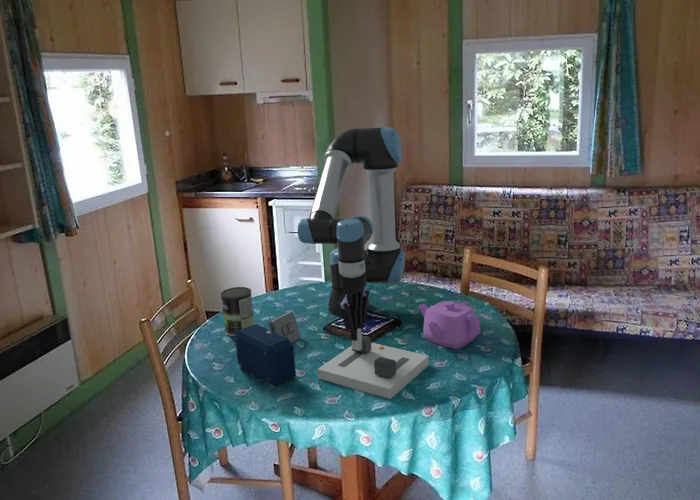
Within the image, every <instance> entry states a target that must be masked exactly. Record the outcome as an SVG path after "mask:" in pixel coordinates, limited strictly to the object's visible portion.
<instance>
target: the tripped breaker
mask: <svg viewBox="0 0 700 500" xmlns="http://www.w3.org/2000/svg"><path fill="white" fill-rule="evenodd" d="M350 340H351V339H350ZM351 342H352V340H351ZM371 343H372V337H370V336H365V335H362V349H361V350H360V351H359V350H355V349H352V351H356V352H360V353H365V354H367V353H368V352H369V351H371Z"/></svg>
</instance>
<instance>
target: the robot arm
mask: <svg viewBox="0 0 700 500" xmlns="http://www.w3.org/2000/svg"><path fill="white" fill-rule="evenodd" d="M322 159H323V160H322V162H323V164H324V166H323V169H322V173H321V177H320V179H319V183H318V187H317V189H316V192H315V196H314V200H313V203H312V207H311V210H310V213H309V216H308V218H307V217H305V218H301V219H300V220H299V222H298V224H297V237H298V239H299V242H301V243H303V244H309V245H315V244H317V245H320V244H321V245H324V244H325V245H326V244H327V245H330V244H331V245H332V244H333V245H337V247H336V248H335V249H333V250H332V251H331V252H330V253H329V254H330V255H329V266H330V267H329V268H330V279H331V281H330V282H331V292H330V296H329V301H328V311H329V313H331V314H332V315H335V316H338V317H339V316H340V317H342V321H343V326H344V329H345V330H347V331H349V332H350V340H352V341H351V346H352V349H355V350H359V351H360V350H361V349H362V336H363V332H362V331H363V329H364V328H366V325H364V324H366V323H367V315H368V314H367V313H368V311H369V310H370V309H371V304H370V302H371V301H370V299H369V296H370V290H368V289H365V287H366V286H367V284H385V285H386V284H387V285H389V284H399V283H400V282H401V281H402V279H403V276H404V270H405V265H406V252H405V250H403V249H401V244H400V243H399V242H398V241H397V240H396V239H397V237H396V215H395V213H396V212H395V211H396V209H395V185H394V184H395V180H394V178H395V177H394V173H395V171H396V170H398V166H399V165H398V164H399V163H401V162H402V161H403V147H402V141H401V137H400V134H399V132H398V130H397V129H396V128H395V127H387V126H386V127H384V126H381V127H365V128H364V127H363V128H358V127H357V128H355V127H354V128H350V129H346V130H345V131H343V132H341V133H340V134H338V135H337V136H336V137H335V138H333V140H332V141H331V142H330V143H329V144H328V146H327V148H326V150H325V152H324V155H323V158H322ZM354 164H362V167H363V170H364V171H365V172H366V173H367V177H368V179H367V180H368V198H369V201H368V203H369V217H367V216H364V215H358V216H355V217H353V218H335V216H336V212H337V208H338V204H339V201H340V199H341V194H342V190H343V185H344V183H345V178H346V175H347V172H348V171H349V170H350V169H351V168H352V165H354ZM368 241H370V242H369V243H368ZM367 243H368V245H367V246H366V249H365V245H366V244H367Z"/></svg>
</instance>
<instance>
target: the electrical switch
mask: <svg viewBox="0 0 700 500" xmlns="http://www.w3.org/2000/svg"><path fill="white" fill-rule="evenodd" d="M296 319H297V318H296V317H295V313H294V312H293V311H289V312H287V313H285V314H283V315H281V316H278V317H277V318H275V319H272V320H270V321H269V322H268V326H269V328H270V322H271V330H270V331H272V332H274V333H277V334H279V335H281V336H283V337H285V338H287V339H289V341H290V342H291V343H292V344H293V342H295V341H297V340H299V339H300V338H301V333H300V330H299V327H298V323H297V320H296Z"/></svg>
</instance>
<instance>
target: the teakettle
mask: <svg viewBox="0 0 700 500" xmlns="http://www.w3.org/2000/svg"><path fill="white" fill-rule="evenodd" d="M470 305H471V304H470V302H469V301H466V300H463V301H461V302H459V303H458V302H454V301H450V300H449V301H448V300H442V301H439V302H437V303H436V304H434V305H432V306H429V307H428V306H427V304H423V303H422V304H419V305H418V307H419V309H420V312H421V315H422V317H423V318H424V320H423V331H422V333H423V337H424V340H425V341H427V342H429V343H432V344H435V345H438V346H441V347H445V348H450V349H453V350H459V349H461V348H464V347H465V346H467V345H469V344H470V343H471V342H473V341H475V339H476V338H477V336H479V335H480V334H481V323H480V316H478V315H476V313H475V310H474V308H473V307H472V306H470Z"/></svg>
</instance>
